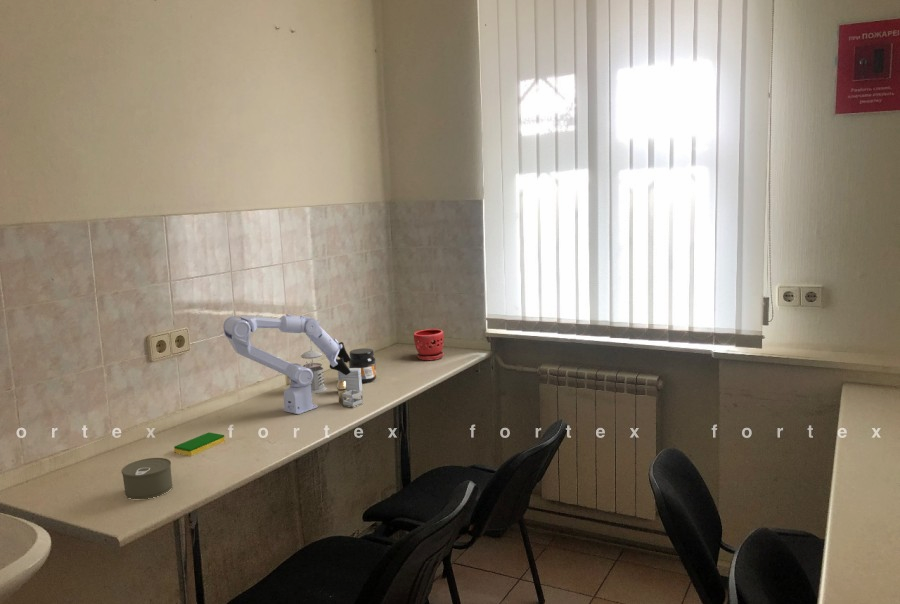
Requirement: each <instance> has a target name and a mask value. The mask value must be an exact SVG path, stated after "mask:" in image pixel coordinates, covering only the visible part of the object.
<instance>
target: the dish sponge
mask: <svg viewBox="0 0 900 604" xmlns="http://www.w3.org/2000/svg"><path fill="white" fill-rule="evenodd" d="M225 437H226V436H225V434H220V433H214V432H206V433H204V434H201V435H199V436H195V437H193V438H191V439H189V440H187V441H184V442H182V443H179V444H177V445H174V447H173V448H174V453H175V452H176V453H175V454H177V453H180V454H179V455H182V454H184V455H183V456H187V455H188V456H189V457H192V456H195V455H197V454H199V453H201V451H202V452H203V450H204V451H206V450H209V449H211V448H213V447H215V446H218V445H220V444H223V443H224V442H226V438H225ZM217 444H218V445H217ZM210 447H211V448H210ZM194 454H195V455H194Z"/></svg>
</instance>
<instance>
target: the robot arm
mask: <svg viewBox="0 0 900 604" xmlns="http://www.w3.org/2000/svg"><path fill="white" fill-rule="evenodd" d="M320 325H321V324H320V322H319V320H317V319H315V318H312V317H309V316H306V315H302V314H301V315H299V316H297V315H295V316H293V315H292V314H290V313H286V315H282V316H281V317H279V318H275V317H274V318H272V317H263V316H252V315H249V316H248V315H239V316H233V315H232V316H229V317H227V318H226V319H225V320H224V322H223V325H222V326H223V333H224V336H225V337H226V339H227V340H228V342H229V343H230V345H231V346H232V348H233V350H234V352H235V353H236V354H238V355H241V356H243V357H245V358H247V359H249V360H251V361H254V362H256V363H258V364H261V365H262V366H265V367H267V368H269V369H270V370H273V371H276V372H277V373H279V374H282V375H284V376H286V377H287V378H288V380H290V381H289V382H290V383H289V386H288V387H287V388H285V389H284V391H283V406H284V409H283V412H286V413H291V414H295V415H300V414H304V413H306V412H309V411H311V410H314V409H317V408H319V406H318V405H316V404H313V393H312V390H311V383H312V380H313V372H312V371H311V370H310V369H309V368H306V367H303V366H304V365H302V364H299V363H295V362H294V363H291V362H289V361H287V360H284V359H282V358H280V357H278V356H276V355H274V354H271V353H270V352H267V351H266V350H264V349H261V348H259V347H256V346H254V345H252V343H251V333H254V332H255V331H256V330H257V329H258V328H259V329H279V330H280V332H281V333H291V334H292V333H293V334H300V333H303V334H305V335H306V336H307V337H308V339H309V340H311V343H312V344H314V345H315V346H316V347H317V348H318V349H319V350H320V351H321V353H322V354H324V355H325V357H326V358H327V360H328V362H329V369H331V370H333V371H334V370H335V371H336V372H337V371H339V372H341V373H343V374H345V375H347V374H349V373H350V370H349V366H347V363H349V361H350V360H351V359H350V354H349V353H348V352H347V350H346V348H345V345H344V342H343V341H340V342H339V341H338V340H337V339H336V338H332V336H331V335H329V334H328V333H327V332H326V330H325V329H324V328H322V327H321V326H320ZM337 357H338V358H339V359H338V358H337Z"/></svg>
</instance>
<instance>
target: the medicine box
mask: <svg viewBox="0 0 900 604" xmlns="http://www.w3.org/2000/svg"><path fill="white" fill-rule="evenodd" d="M348 368H349V367H348ZM349 370H350V373H349V374H347V375H345V374H343V373H341V372H339V371H338V372H337V373H338V374H337V376H338V377H337V379H338V381H339V380H346V388H347V389H346V390H347V391H350V390H356V391H361V392H362V390H363V383H362V380H361V368H349Z"/></svg>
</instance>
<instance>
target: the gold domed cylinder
mask: <svg viewBox="0 0 900 604" xmlns="http://www.w3.org/2000/svg"><path fill="white" fill-rule="evenodd" d="M346 389H347V388H346V380H339V379H338V380H337V394H338V395H337V396H338V404H339V403H340V404H341V403H342V404H341V405H343V398H342V393H345V392H347V390H346ZM347 399H348V398H347V397H344V400H347ZM340 404H339V405H340Z"/></svg>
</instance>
